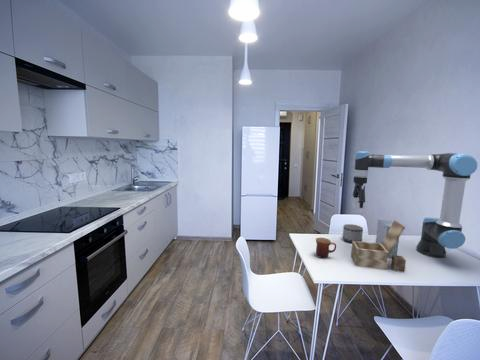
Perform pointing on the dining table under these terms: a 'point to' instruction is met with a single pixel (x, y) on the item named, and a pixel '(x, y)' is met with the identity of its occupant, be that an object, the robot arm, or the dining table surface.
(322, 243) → the mug
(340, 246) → the dining table surface
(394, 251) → the hard drive box
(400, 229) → the lid
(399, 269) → the walnut block
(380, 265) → the light wooden box
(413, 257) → the dining table surface
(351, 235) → the planter
